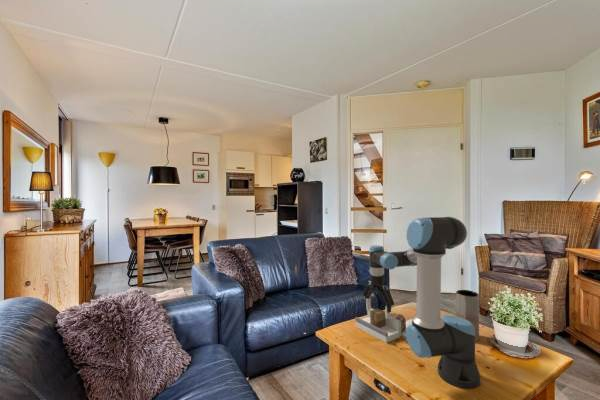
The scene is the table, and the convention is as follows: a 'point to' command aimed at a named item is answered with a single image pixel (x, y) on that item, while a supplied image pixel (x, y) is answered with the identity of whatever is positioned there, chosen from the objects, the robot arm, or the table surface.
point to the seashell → (400, 318)
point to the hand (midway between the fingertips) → (378, 313)
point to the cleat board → (383, 333)
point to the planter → (468, 308)
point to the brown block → (377, 318)
